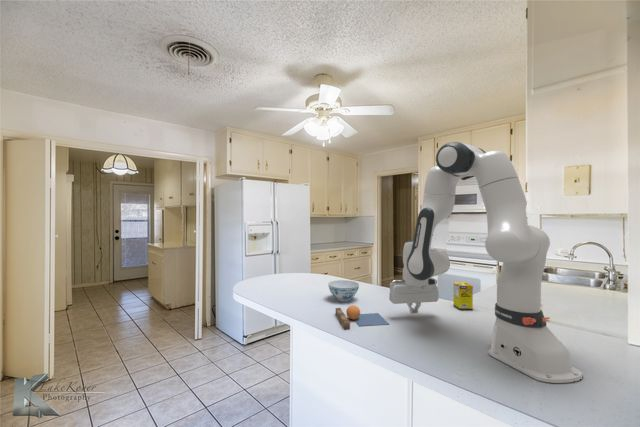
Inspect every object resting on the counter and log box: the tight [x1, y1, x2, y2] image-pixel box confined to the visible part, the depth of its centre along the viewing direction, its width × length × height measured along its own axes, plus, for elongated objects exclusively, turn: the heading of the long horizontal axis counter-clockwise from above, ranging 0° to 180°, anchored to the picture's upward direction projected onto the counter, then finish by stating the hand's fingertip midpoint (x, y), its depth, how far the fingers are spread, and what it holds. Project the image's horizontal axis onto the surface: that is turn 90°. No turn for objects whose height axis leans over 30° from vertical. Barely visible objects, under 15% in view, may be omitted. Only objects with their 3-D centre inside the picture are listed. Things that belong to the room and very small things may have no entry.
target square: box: [354, 312, 390, 327], centre depth 115 cm, size 12×12×1 cm
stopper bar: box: [335, 307, 351, 330], centre depth 113 cm, size 16×2×2 cm, turn 9°
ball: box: [345, 304, 361, 321], centre depth 115 cm, size 6×6×6 cm
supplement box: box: [453, 281, 474, 311], centre depth 129 cm, size 6×6×11 cm
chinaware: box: [328, 279, 360, 303], centre depth 141 cm, size 15×15×8 cm
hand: (413, 313), depth 118 cm, fingers closed
